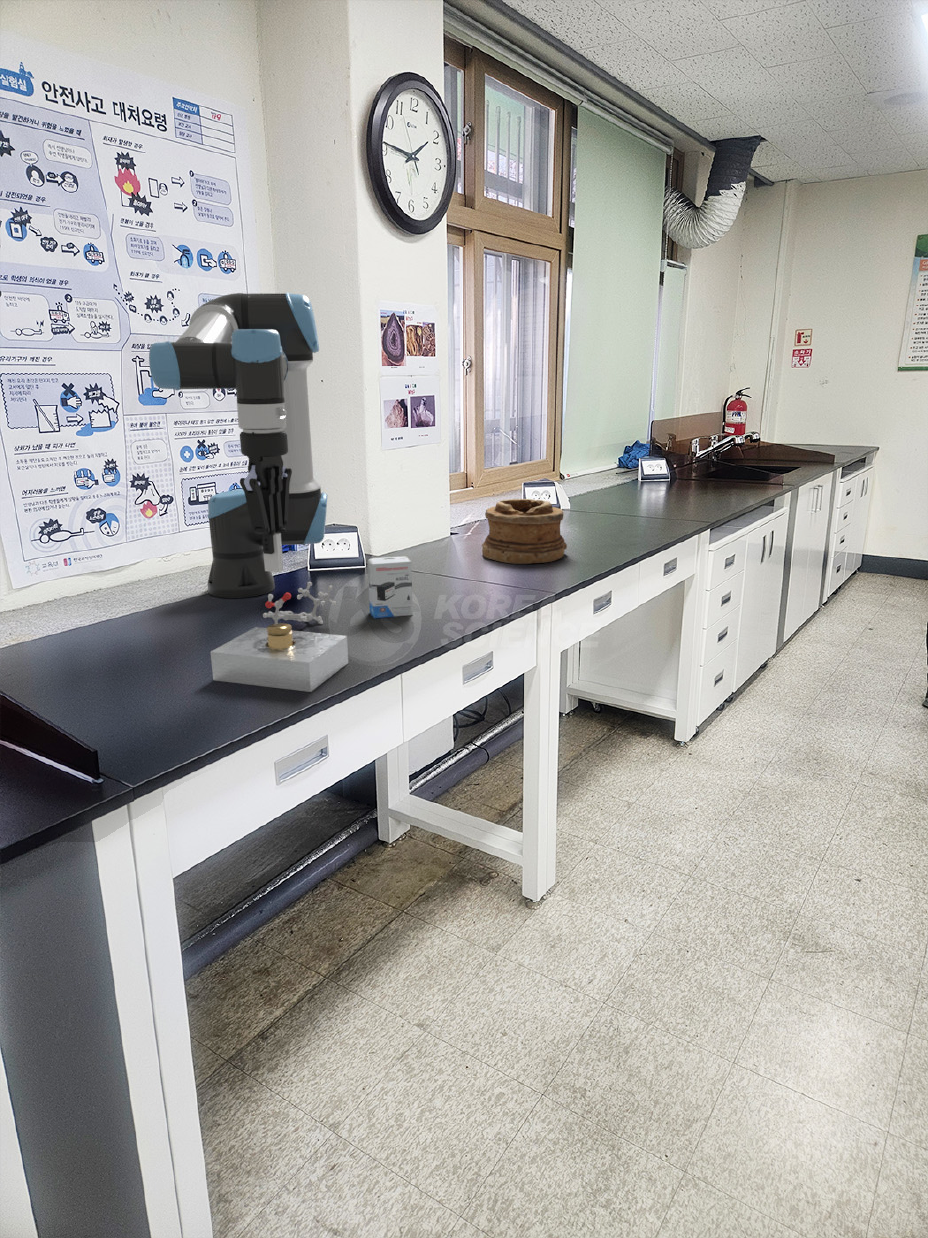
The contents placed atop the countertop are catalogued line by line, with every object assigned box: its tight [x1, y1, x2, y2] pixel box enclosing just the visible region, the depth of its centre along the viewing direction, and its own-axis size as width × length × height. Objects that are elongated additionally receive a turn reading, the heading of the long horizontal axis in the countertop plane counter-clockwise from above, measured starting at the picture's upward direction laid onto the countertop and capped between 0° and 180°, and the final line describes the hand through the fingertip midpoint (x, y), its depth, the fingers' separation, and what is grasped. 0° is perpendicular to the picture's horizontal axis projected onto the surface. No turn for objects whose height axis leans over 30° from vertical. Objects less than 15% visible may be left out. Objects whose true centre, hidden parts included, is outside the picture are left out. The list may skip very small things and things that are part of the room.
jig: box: [210, 626, 349, 693], centre depth 136 cm, size 18×14×5 cm
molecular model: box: [262, 581, 337, 625], centre depth 158 cm, size 19×10×10 cm, turn 148°
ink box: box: [367, 555, 414, 619], centre depth 168 cm, size 8×5×12 cm, turn 105°
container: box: [481, 498, 568, 565], centre depth 221 cm, size 22×24×15 cm
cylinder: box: [266, 622, 293, 649], centre depth 136 cm, size 4×4×8 cm
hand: (274, 570), depth 138 cm, fingers closed
